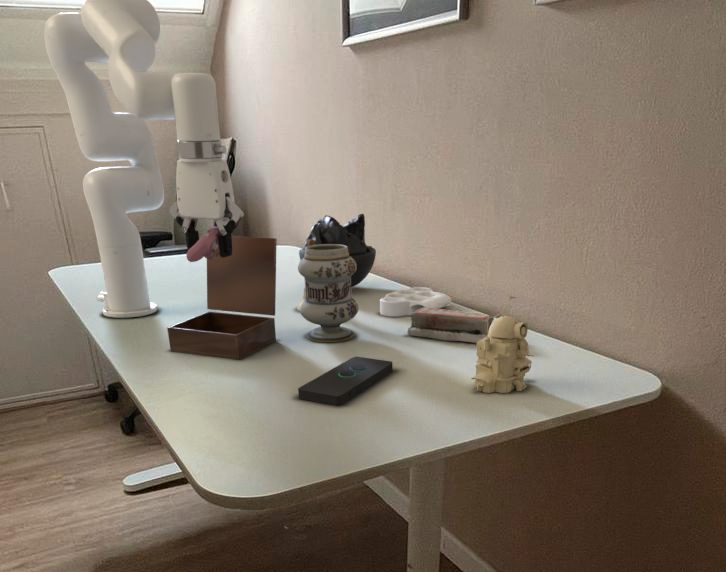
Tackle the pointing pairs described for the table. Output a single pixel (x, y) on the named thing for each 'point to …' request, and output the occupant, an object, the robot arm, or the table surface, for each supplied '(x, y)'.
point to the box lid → (244, 277)
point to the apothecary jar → (328, 291)
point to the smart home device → (345, 380)
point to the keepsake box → (222, 334)
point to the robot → (503, 356)
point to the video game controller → (205, 246)
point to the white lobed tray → (411, 301)
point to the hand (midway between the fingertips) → (210, 254)
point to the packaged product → (449, 325)
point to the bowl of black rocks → (345, 242)
